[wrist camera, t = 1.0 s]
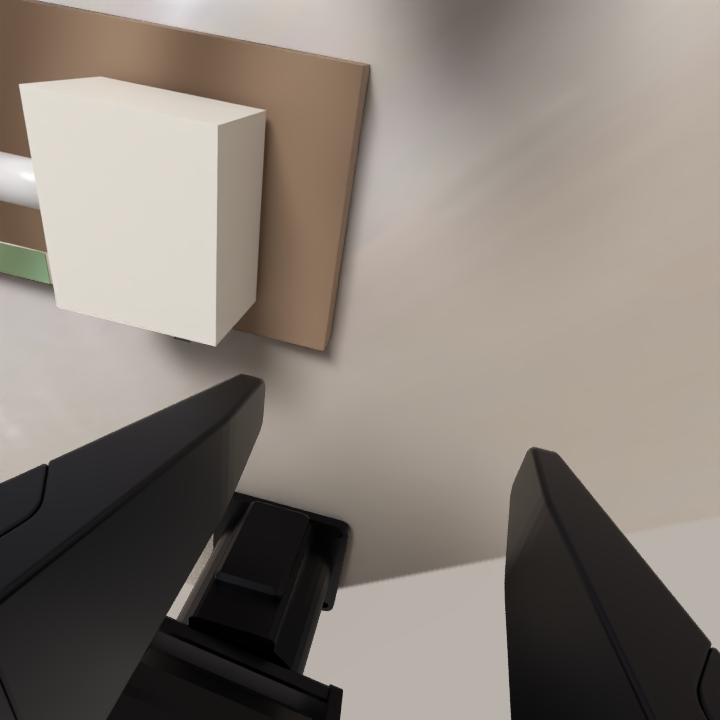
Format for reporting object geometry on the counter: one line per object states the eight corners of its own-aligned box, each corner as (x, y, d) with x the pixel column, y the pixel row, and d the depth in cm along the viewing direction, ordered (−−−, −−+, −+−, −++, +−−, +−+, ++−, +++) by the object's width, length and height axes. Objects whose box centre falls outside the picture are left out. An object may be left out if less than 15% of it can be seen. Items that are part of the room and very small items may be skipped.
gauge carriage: (265, 110, 15) (217, 125, 12) (252, 350, 19) (215, 401, 16) (5, 57, 16) (-95, 60, 13) (49, 300, 20) (-19, 341, 17)
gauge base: (369, 64, 15) (362, 66, 14) (330, 337, 20) (322, 352, 19) (-303, -65, 17) (-351, -72, 16) (-190, 212, 22) (-221, 220, 21)
